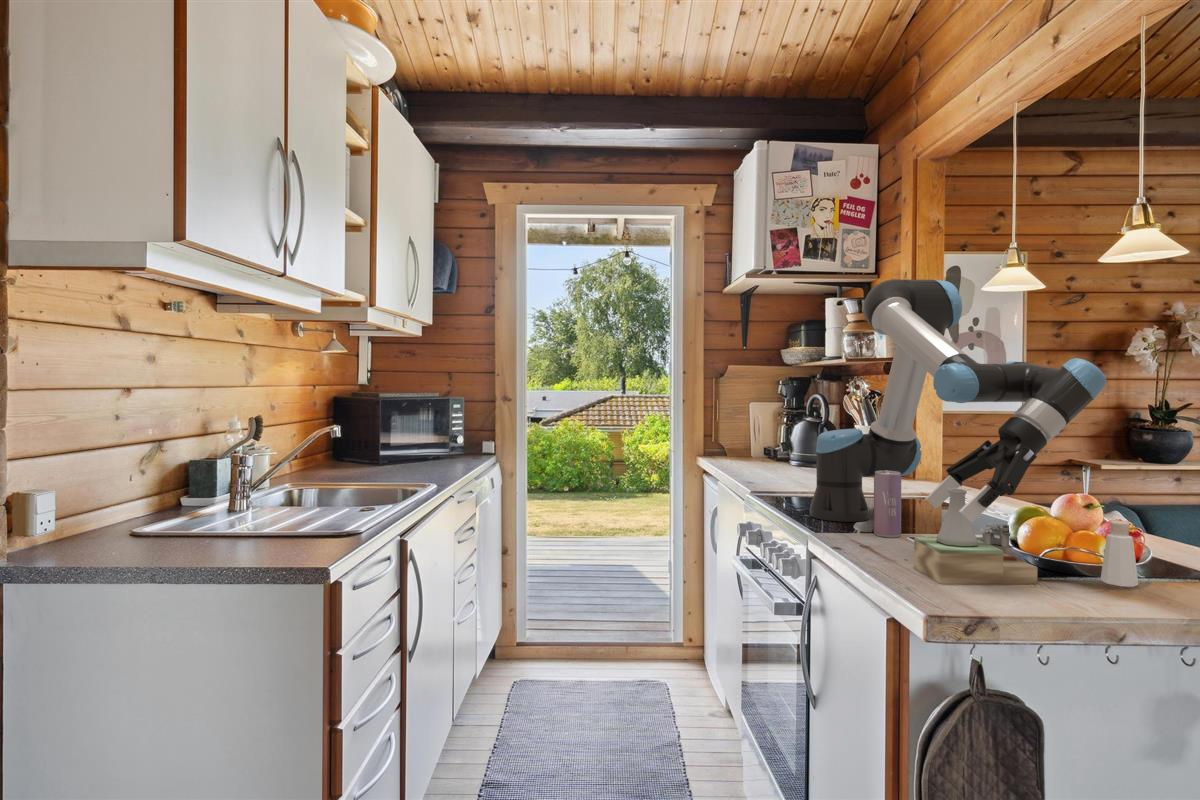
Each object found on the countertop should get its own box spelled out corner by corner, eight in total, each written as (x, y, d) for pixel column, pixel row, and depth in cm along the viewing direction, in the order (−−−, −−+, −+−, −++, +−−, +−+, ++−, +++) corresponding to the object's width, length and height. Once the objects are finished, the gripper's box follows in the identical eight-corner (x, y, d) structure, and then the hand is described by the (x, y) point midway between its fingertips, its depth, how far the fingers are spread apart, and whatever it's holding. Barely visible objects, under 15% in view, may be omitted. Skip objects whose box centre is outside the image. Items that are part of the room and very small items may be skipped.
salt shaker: (1120, 588, 121) (1121, 525, 121) (1092, 579, 126) (1093, 519, 126) (1146, 586, 122) (1147, 523, 122) (1117, 577, 127) (1118, 518, 127)
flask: (985, 548, 125) (985, 493, 125) (942, 547, 126) (943, 492, 126) (970, 539, 132) (971, 487, 132) (930, 538, 133) (930, 486, 133)
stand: (914, 567, 135) (914, 536, 135) (1002, 567, 134) (1003, 536, 134) (940, 583, 124) (940, 550, 124) (1037, 584, 123) (1037, 550, 123)
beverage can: (898, 533, 166) (898, 470, 165) (903, 538, 160) (903, 473, 160) (871, 532, 167) (872, 470, 167) (875, 537, 161) (876, 473, 161)
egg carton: (1011, 549, 150) (1011, 531, 150) (976, 543, 157) (976, 525, 156) (1034, 542, 157) (1034, 524, 156) (999, 536, 163) (999, 519, 163)
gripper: (1090, 449, 116) (998, 539, 116) (1006, 438, 141) (931, 512, 141) (1058, 417, 116) (966, 507, 116) (980, 412, 141) (905, 486, 141)
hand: (946, 510), depth 129 cm, fingers open, 13 cm apart
